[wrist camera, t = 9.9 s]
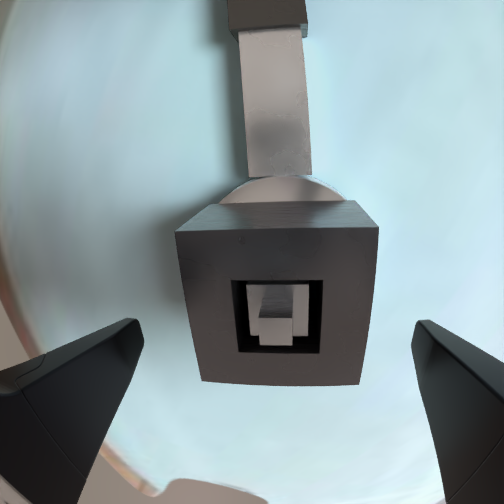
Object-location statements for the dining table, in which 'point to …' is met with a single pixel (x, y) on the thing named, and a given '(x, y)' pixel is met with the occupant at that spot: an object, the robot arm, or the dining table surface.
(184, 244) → the socket
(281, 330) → the ratchet
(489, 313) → the dining table surface
